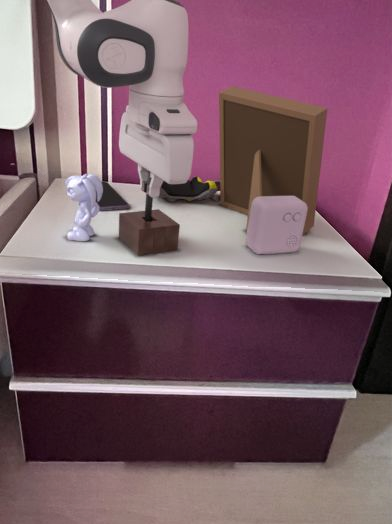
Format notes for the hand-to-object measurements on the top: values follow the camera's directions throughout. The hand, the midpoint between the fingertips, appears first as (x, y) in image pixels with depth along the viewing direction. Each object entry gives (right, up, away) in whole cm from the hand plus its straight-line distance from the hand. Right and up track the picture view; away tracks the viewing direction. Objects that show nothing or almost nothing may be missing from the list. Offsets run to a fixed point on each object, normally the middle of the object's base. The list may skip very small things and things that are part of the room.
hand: (149, 193), depth 99 cm
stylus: (-1, -6, +4) cm, 7 cm away
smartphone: (-12, +6, +24) cm, 28 cm away
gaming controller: (+5, +7, +29) cm, 30 cm away
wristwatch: (+16, +9, +32) cm, 36 cm away
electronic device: (+23, -9, +9) cm, 26 cm away
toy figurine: (-13, -7, +5) cm, 15 cm away
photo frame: (+20, -1, +21) cm, 29 cm away
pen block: (-1, -8, +5) cm, 10 cm away
